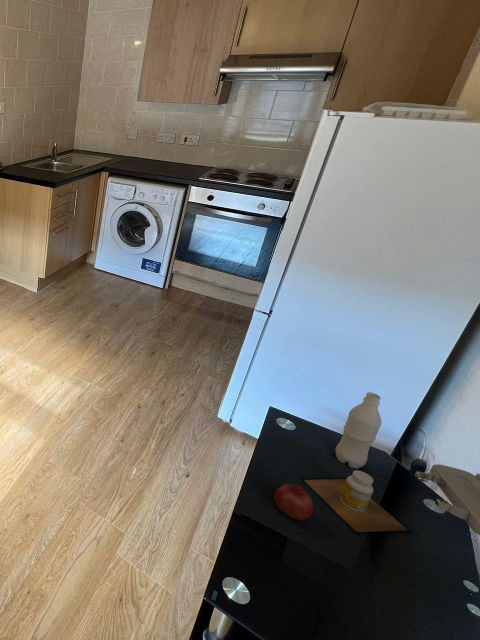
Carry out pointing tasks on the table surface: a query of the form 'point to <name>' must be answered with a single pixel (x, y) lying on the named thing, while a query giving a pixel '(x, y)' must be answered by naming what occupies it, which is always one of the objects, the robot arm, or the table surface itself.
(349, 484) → the supplement bottle
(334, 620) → the table surface
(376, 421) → the water bottle
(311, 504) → the fruit
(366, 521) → the cork mat
